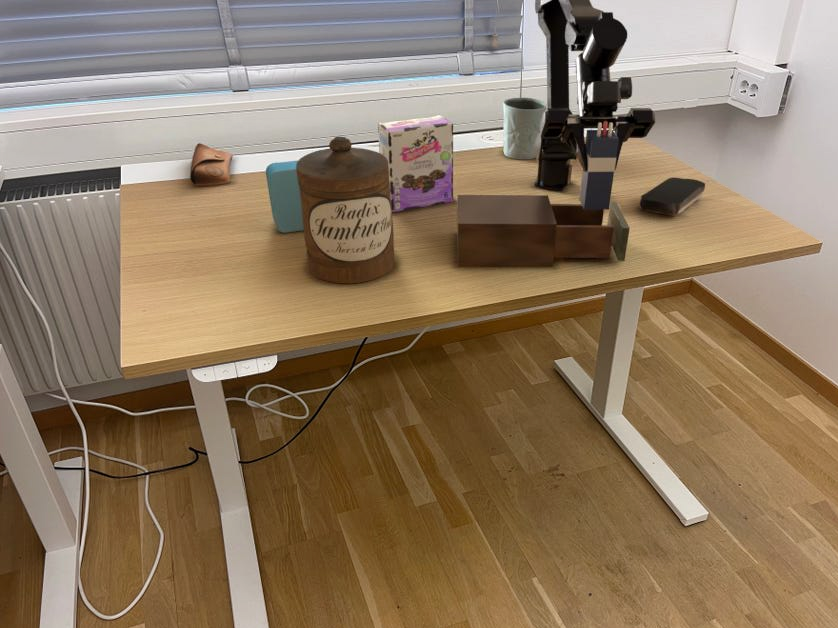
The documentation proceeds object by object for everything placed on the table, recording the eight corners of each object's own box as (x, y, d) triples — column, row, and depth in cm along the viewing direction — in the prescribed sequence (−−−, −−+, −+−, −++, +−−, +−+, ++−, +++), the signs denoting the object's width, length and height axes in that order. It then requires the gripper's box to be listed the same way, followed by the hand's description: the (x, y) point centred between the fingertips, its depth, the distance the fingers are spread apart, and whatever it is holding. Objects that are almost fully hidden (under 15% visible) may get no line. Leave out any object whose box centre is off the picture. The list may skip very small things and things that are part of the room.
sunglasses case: (233, 181, 150) (211, 156, 146) (207, 199, 151) (184, 175, 147) (233, 153, 164) (213, 130, 160) (209, 170, 165) (188, 147, 161)
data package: (336, 216, 138) (329, 156, 131) (341, 225, 135) (334, 164, 128) (273, 224, 134) (264, 163, 127) (277, 234, 131) (267, 172, 124)
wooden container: (319, 291, 114) (302, 158, 101) (300, 252, 125) (283, 128, 112) (406, 275, 119) (400, 147, 106) (380, 239, 130) (372, 119, 117)
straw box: (578, 199, 125) (588, 115, 116) (603, 199, 125) (614, 115, 116) (583, 210, 121) (594, 123, 112) (609, 209, 121) (621, 123, 113)
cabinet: (544, 235, 133) (548, 195, 128) (552, 267, 123) (556, 224, 118) (457, 235, 132) (457, 194, 128) (458, 266, 122) (458, 223, 117)
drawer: (618, 233, 132) (623, 201, 129) (631, 261, 123) (636, 228, 120) (530, 232, 132) (532, 201, 128) (536, 260, 122) (539, 227, 119)
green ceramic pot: (503, 145, 175) (505, 96, 168) (544, 148, 174) (548, 98, 167) (499, 159, 167) (501, 107, 160) (541, 162, 166) (545, 110, 159)
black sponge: (673, 222, 139) (677, 205, 137) (635, 211, 143) (638, 194, 141) (705, 198, 150) (708, 181, 148) (668, 188, 154) (671, 172, 152)
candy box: (391, 213, 140) (387, 130, 130) (381, 203, 144) (376, 122, 134) (454, 202, 145) (454, 122, 136) (442, 192, 149) (441, 113, 140)
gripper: (548, 57, 112) (553, 149, 109) (662, 57, 113) (670, 148, 111) (537, 94, 123) (542, 178, 120) (641, 94, 124) (648, 177, 122)
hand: (599, 170), depth 118 cm, fingers closed on straw box, 4 cm apart
